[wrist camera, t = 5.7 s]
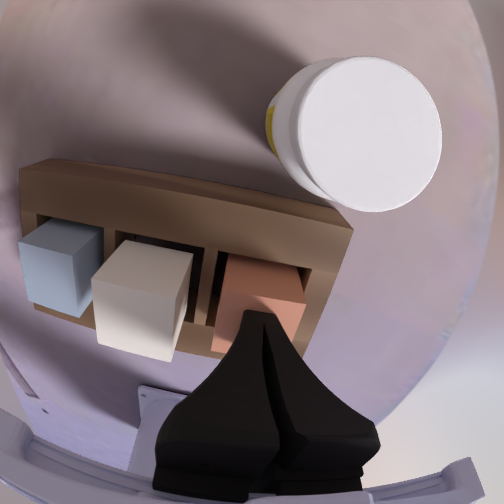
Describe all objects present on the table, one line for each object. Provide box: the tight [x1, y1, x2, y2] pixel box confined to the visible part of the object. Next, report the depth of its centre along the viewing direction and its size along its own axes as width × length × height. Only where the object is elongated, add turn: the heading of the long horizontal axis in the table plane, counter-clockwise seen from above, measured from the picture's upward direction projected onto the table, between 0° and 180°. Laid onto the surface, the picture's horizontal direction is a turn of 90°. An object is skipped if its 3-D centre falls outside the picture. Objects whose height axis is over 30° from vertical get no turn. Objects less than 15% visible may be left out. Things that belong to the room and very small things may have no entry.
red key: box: [211, 253, 306, 353], centre depth 14 cm, size 3×3×4 cm
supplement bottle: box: [265, 56, 442, 212], centre depth 10 cm, size 5×5×8 cm
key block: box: [19, 159, 354, 359], centre depth 15 cm, size 9×17×3 cm, turn 78°
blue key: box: [18, 217, 104, 318], centre depth 13 cm, size 3×3×4 cm
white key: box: [91, 240, 193, 362], centre depth 13 cm, size 3×3×4 cm
